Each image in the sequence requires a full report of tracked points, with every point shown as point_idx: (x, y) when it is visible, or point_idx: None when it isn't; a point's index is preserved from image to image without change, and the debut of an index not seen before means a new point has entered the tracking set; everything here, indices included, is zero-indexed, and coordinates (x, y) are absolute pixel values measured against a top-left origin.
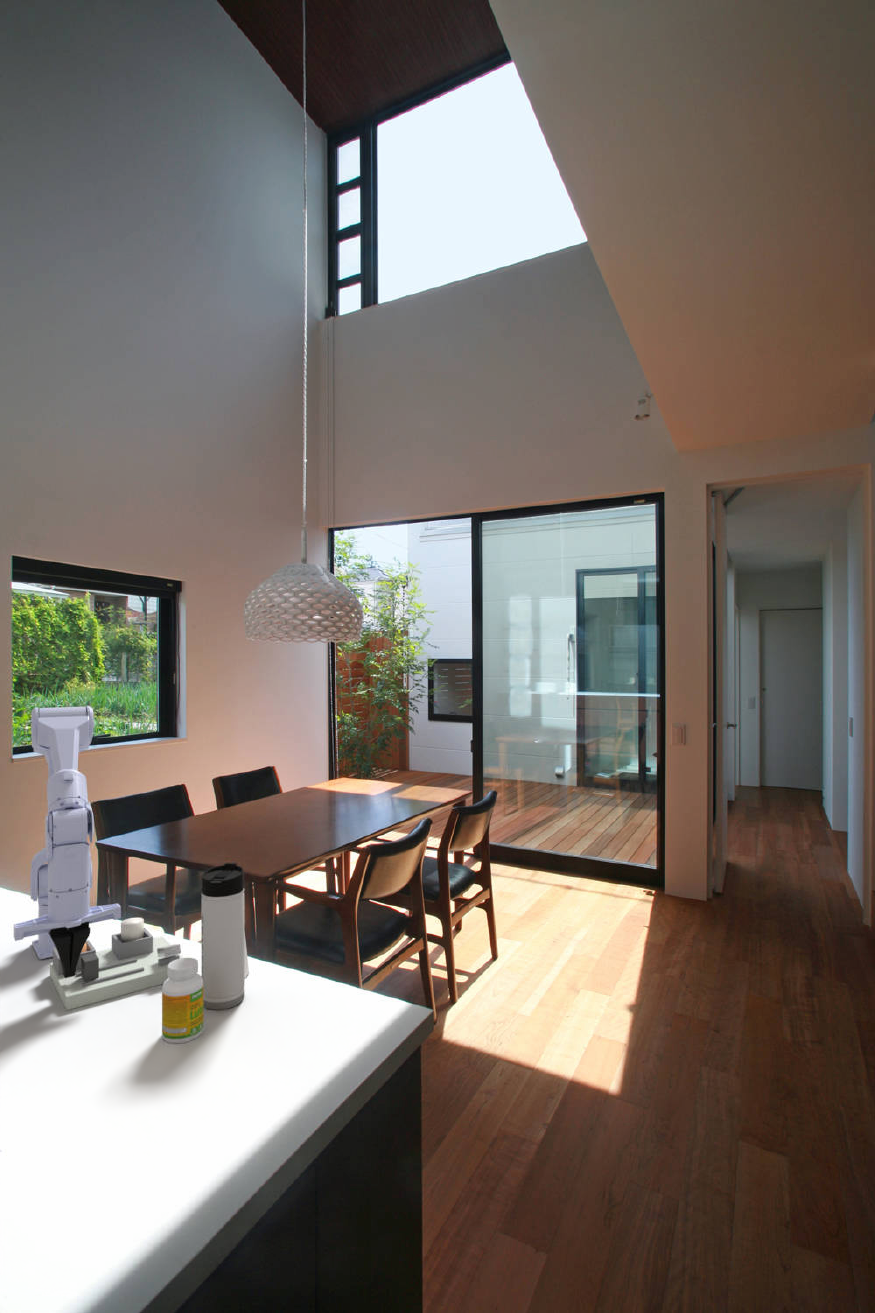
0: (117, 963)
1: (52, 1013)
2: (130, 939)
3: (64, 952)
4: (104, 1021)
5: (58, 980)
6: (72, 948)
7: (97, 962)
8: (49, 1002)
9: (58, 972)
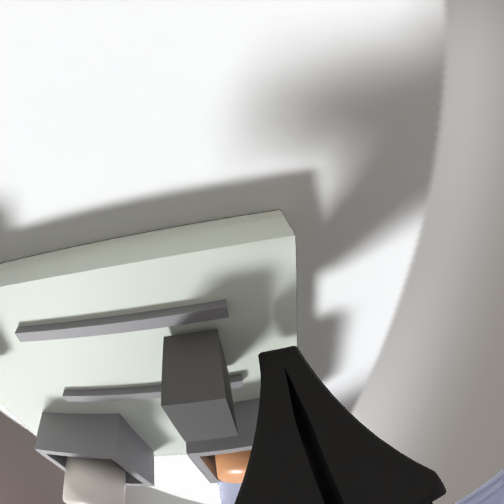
0: (115, 398)
1: (324, 214)
2: (91, 463)
3: (346, 440)
4: (146, 36)
5: None
6: (306, 462)
7: (166, 391)
8: (317, 296)
9: None
